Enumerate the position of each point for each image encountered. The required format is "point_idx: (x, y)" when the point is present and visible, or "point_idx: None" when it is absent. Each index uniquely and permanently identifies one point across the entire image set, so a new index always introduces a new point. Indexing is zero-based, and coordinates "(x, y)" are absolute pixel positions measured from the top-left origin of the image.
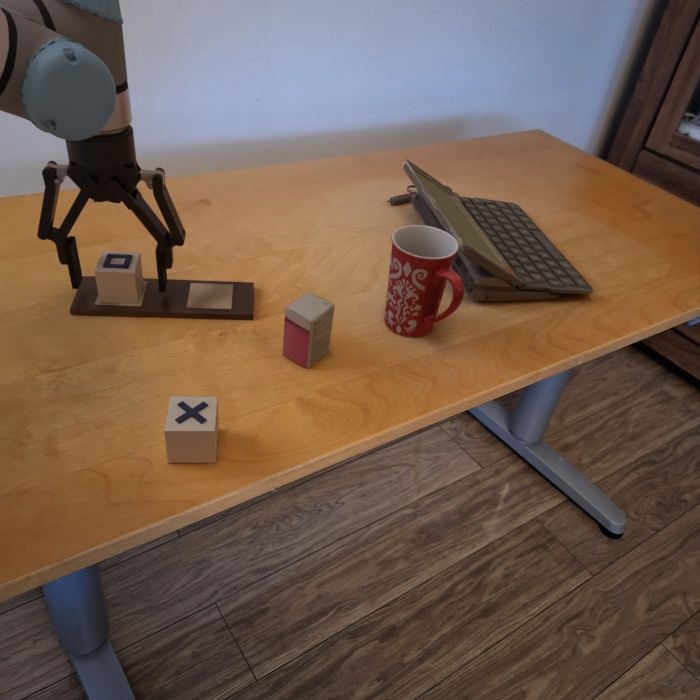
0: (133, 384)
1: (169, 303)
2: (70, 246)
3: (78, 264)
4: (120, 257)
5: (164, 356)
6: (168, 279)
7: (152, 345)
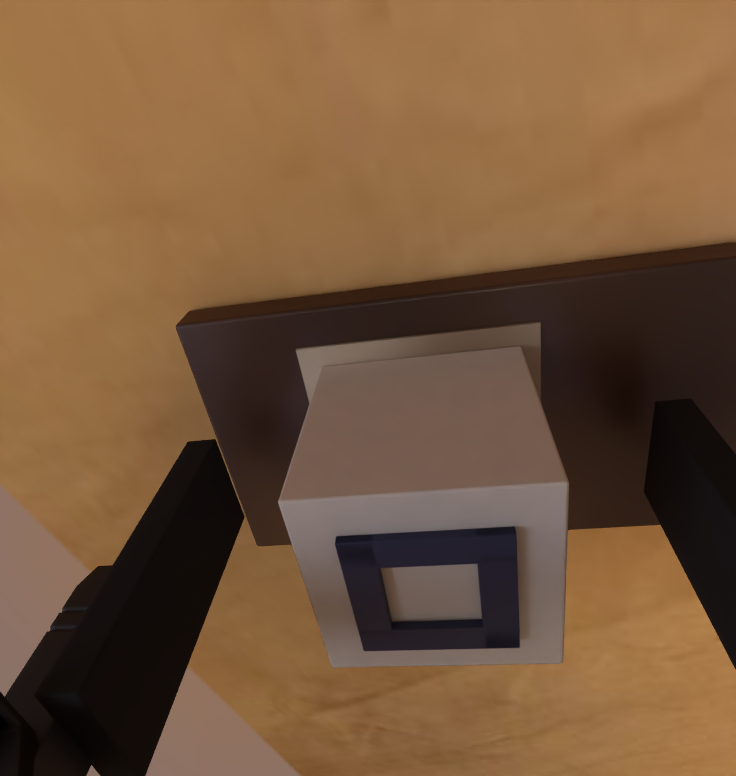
0: (562, 731)
1: None
2: (139, 768)
3: (186, 537)
4: (436, 559)
5: (645, 658)
6: (669, 274)
7: (600, 624)
